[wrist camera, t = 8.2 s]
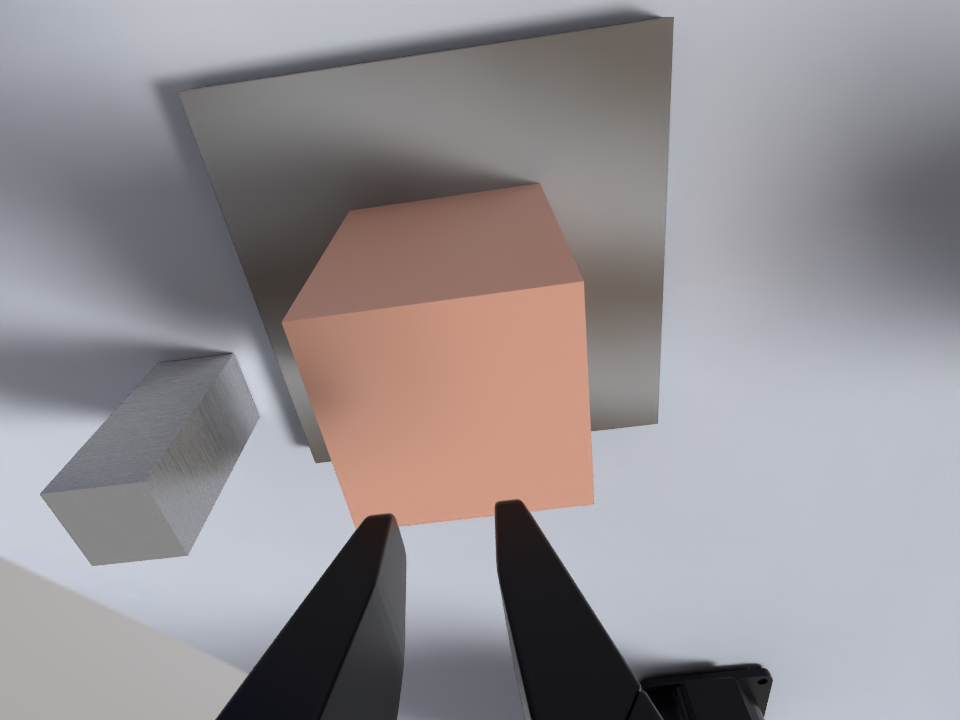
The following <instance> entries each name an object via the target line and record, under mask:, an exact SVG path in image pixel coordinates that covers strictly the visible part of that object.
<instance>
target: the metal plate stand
mask: <svg viewBox="0 0 960 720" xmlns="http://www.w3.org/2000/svg"><path fill="white" fill-rule="evenodd" d="M673 22H674V17H662V18H655V19H649V20H642V21H635V22H629V23H622V24H616V25H609V26H602V27H596V28H589V29H583V30H576V31H569V32H563V33H556V34H550V35H543V36H536V37H530V38H523V39H517V40H510V41H504V42H497V43H490V44H484V45H477V46H471V47H464V48H457V49H451V50H444V51H438V52H431V53H424V54H418V55H411V56H405V57H398V58H392V59H385V60H378V61H372V62H365V63H359V64H352V65H345V66H339V67H332V68H326V69H319V70H312V71H306V72H299V73H293V74H286V75H279V76H273V77H266V78H260V79H253V80H247V81H240V82H233V83H227V84H220V85H214V86H207V87H200V88H194V89H189V90H185V91H181V92H178V95H179V97H180V100H181V103H182V106H183V108H184V111H185V114H186V116H187V119H188V122H189V124H190V127H191V130H192V132H193V135H194V138H195V141H196V143H197V146H198V149H199V151H200V154H201V157H202V159H203V162H204V165H205V167H206V170H207V173H208V175H209V178H210V181H211V184H212V186H213V189H214V192H215V194H216V197H217V200H218V202H219V205H220V208H221V210H222V213H223V216H224V218H225V221H226V224H227V227H228V229H229V232H230V235H231V237H232V240H233V243H234V245H235V248H236V251H237V253H238V256H239V259H240V262H241V264H242V267H243V270H244V272H245V275H246V278H247V280H248V283H249V286H250V288H251V291H252V294H253V296H254V299H255V302H256V305H257V307H258V310H259V313H260V315H261V318H262V321H263V323H264V326H265V329H266V331H267V334H268V337H269V339H270V342H271V345H272V348H273V350H274V353H275V356H276V358H277V361H278V364H279V366H280V369H281V372H282V374H283V377H284V380H285V383H286V385H287V388H288V391H289V393H290V396H291V399H292V401H293V404H294V407H295V409H296V412H297V415H298V417H299V420H300V423H301V426H302V428H303V431H304V434H305V436H306V439H307V442H308V444H309V447H310V450H311V452H312V455H313V458H314V461H315V463H321V462H330V461H331V458H330V455H329V453H328V450H327V447H326V444H325V441H324V439H323V436H322V433H321V430H320V428H319V425H318V422H317V419H316V416H315V414H314V411H313V408H312V405H311V403H310V400H309V397H308V394H307V392H306V389H305V386H304V383H303V380H302V378H301V375H300V372H299V369H298V367H297V364H296V361H295V358H294V355H293V353H292V350H291V347H290V344H289V342H288V339H287V336H286V333H285V330H284V328H283V325H282V321H283V319H284V317H285V316H286V314H287V312H288V311H289V309H290V308H291V306H292V304H293V303H294V301H295V299H296V298H297V296H298V294H299V293H300V291H301V290H302V288H303V286H304V285H305V283H306V281H307V280H308V278H309V276H310V275H311V273H312V272H313V270H314V268H315V267H316V265H317V263H318V262H319V260H320V258H321V257H322V255H323V254H324V252H325V250H326V249H327V247H328V245H329V244H330V242H331V240H332V239H333V237H334V236H335V234H336V232H337V231H338V229H339V227H340V226H341V224H342V222H343V221H344V219H345V217H346V216H347V214H348V213H349V211H351V210H358V209H365V208H372V207H379V206H386V205H393V204H400V203H407V202H413V201H420V200H427V199H434V198H441V197H448V196H455V195H462V194H468V193H475V192H482V191H489V190H496V189H503V188H510V187H517V186H524V185H530V184H537V183H540V184H541V186H542V188H543V191H544V193H545V195H546V197H547V200H548V202H549V204H550V206H551V209H552V211H553V213H554V215H555V218H556V220H557V222H558V224H559V227H560V229H561V231H562V233H563V236H564V238H565V240H566V242H567V245H568V247H569V249H570V251H571V254H572V256H573V258H574V260H575V263H576V265H577V267H578V269H579V272H580V274H581V276H582V278H583V280H584V294H585V316H586V337H587V359H588V380H589V401H590V423H591V431H598V430H606V429H615V428H624V427H632V426H641V425H650V424H658V406H659V380H660V355H661V329H662V304H663V278H664V252H665V227H666V201H667V176H668V150H669V124H670V99H671V73H672V47H673Z"/></svg>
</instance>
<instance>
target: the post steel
mask: <svg viewBox="0 0 960 720" xmlns="http://www.w3.org/2000/svg"><path fill="white" fill-rule="evenodd" d="M259 418H260V416H259V414H258V411H257V409H256V406H255V404H254V401H253V399H252V397H251V394H250V392H249V389H248V387H247V385H246V382H245V380H244V377H243V375H242V373H241V370H240V368H239V365H238V363H237V361H236V358H235V356H234V354H227V355H219V356H211V357H203V358H195V359H187V360H179V361H172V362H164V363H157V364H156V365H155V366H154V367H153V369H152V370H151V371H150V372H149V373H148V374H147V375H146V376H145V377H144V379H143V380H142V381H141V382H140V383H139V384H138V385H137V386H136V388H135V389H134V390H133V391H132V392H131V393H130V394H129V395H128V396H127V398H126V399H125V400H124V401H123V402H122V403H121V404H120V405H119V406H118V408H117V409H116V410H115V411H114V412H113V413H112V414H111V415H110V416H109V418H108V419H107V420H106V421H105V422H104V423H103V424H102V425H101V426H100V428H99V429H98V430H97V431H96V432H95V433H94V434H93V435H92V436H91V438H90V439H89V440H88V441H87V442H86V443H85V444H84V445H83V446H82V448H81V449H80V450H79V451H78V452H77V453H76V454H75V455H74V457H73V458H72V459H71V460H70V461H69V462H68V463H67V464H66V465H65V467H64V468H63V469H62V470H61V471H60V472H59V473H58V474H57V475H56V477H55V478H54V479H53V480H52V481H51V482H50V483H49V484H48V485H47V487H46V488H45V489H44V490H43V491H42V492H41V493H40V495H41V497H42V498H43V499H44V501H45V502H46V503H47V505H48V506H49V508H50V509H51V510H52V512H53V513H54V514H55V516H56V517H57V519H58V520H59V521H60V523H61V524H62V525H63V527H64V528H65V529H66V531H67V532H68V534H69V535H70V536H71V538H72V539H73V540H74V542H75V543H76V544H77V546H78V547H79V549H80V550H81V551H82V553H83V554H84V555H85V557H86V558H87V560H88V561H89V562H90V564H91V565H92V566H96V565H106V564H115V563H124V562H133V561H143V560H152V559H161V558H170V557H179V556H188V554H189V552H190V550H191V548H192V546H193V544H194V543H195V541H196V539H197V537H198V535H199V533H200V531H201V529H202V527H203V525H204V523H205V521H206V519H207V518H208V516H209V514H210V512H211V510H212V508H213V506H214V504H215V502H216V500H217V498H218V496H219V494H220V493H221V491H222V489H223V487H224V485H225V483H226V481H227V479H228V477H229V475H230V473H231V471H232V469H233V468H234V466H235V464H236V462H237V460H238V458H239V456H240V454H241V452H242V450H243V448H244V446H245V444H246V443H247V441H248V439H249V437H250V435H251V433H252V431H253V429H254V427H255V425H256V423H257V421H258V419H259Z"/></svg>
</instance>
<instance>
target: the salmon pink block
mask: <svg viewBox="0 0 960 720" xmlns="http://www.w3.org/2000/svg"><path fill="white" fill-rule="evenodd" d="M282 325H283V328H284V330H285V333H286V336H287V339H288V342H289V344H290V347H291V350H292V353H293V355H294V358H295V361H296V364H297V367H298V369H299V372H300V375H301V378H302V380H303V383H304V386H305V389H306V392H307V394H308V397H309V400H310V403H311V405H312V408H313V411H314V414H315V416H316V419H317V422H318V425H319V428H320V430H321V433H322V436H323V439H324V441H325V444H326V447H327V450H328V453H329V455H330V458H331V461H332V464H333V466H334V469H335V472H336V475H337V478H338V480H339V483H340V486H341V489H342V491H343V494H344V497H345V500H346V502H347V505H348V508H349V511H350V514H351V516H352V519H353V522H354V525H355V527H356V529H357V528H358V527H359V525H360V524H361V523H362V521H363V520H364V519H365V518H366V517H367V516H369V515H377V514H386V513H391V514H393V515H394V516H395V518H396V520H397V524H398V526H407V525H416V524H425V523H433V522H442V521H451V520H460V519H468V518H477V517H486V516H495V503H496V502H497V501H504V500H513V499H520V500H521V501H522V502H523V503H524V504H525V506H526V507H527V509H528V510H529V512H530V511H539V510H547V509H556V508H565V507H574V506H583V505H591V504H594V487H593V465H592V444H591V423H590V401H589V380H588V359H587V337H586V316H585V294H584V280H583V278H582V276H581V274H580V272H579V269H578V267H577V265H576V263H575V260H574V258H573V256H572V254H571V251H570V249H569V247H568V245H567V242H566V240H565V238H564V236H563V233H562V231H561V229H560V227H559V224H558V222H557V220H556V218H555V215H554V213H553V211H552V209H551V206H550V204H549V202H548V200H547V197H546V195H545V193H544V191H543V188H542V186H541V184H540V183H537V184H530V185H524V186H517V187H510V188H503V189H496V190H489V191H482V192H475V193H468V194H462V195H455V196H448V197H441V198H434V199H427V200H420V201H413V202H407V203H400V204H393V205H386V206H379V207H372V208H365V209H358V210H351V211H349V213H348V214H347V216H346V217H345V219H344V221H343V222H342V224H341V226H340V227H339V229H338V231H337V232H336V234H335V236H334V237H333V239H332V240H331V242H330V244H329V245H328V247H327V249H326V250H325V252H324V254H323V255H322V257H321V258H320V260H319V262H318V263H317V265H316V267H315V268H314V270H313V272H312V273H311V275H310V276H309V278H308V280H307V281H306V283H305V285H304V286H303V288H302V290H301V291H300V293H299V294H298V296H297V298H296V299H295V301H294V303H293V304H292V306H291V308H290V309H289V311H288V312H287V314H286V316H285V317H284V319H283V321H282Z"/></svg>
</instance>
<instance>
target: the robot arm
mask: <svg viewBox="0 0 960 720" xmlns="http://www.w3.org/2000/svg"><path fill="white" fill-rule="evenodd" d="M495 538H496V563H497V573H498V578H499V584H500V590H501V596H502V601H503V607H504V613H505V619H506V624H507V630H508V636H509V642H510V647H511V653H512V659H513V664H514V670H515V674H516V679H517V684H518V689H519V694H520V698H521V703H522V708H523V713H524V718H525V720H765V719H764V715H765V711H766V706H767V702H768V698H769V694H770V690H771V686H772V682H773V679H772V677H771V675H770V672H769V671H768V670H767V669H765V668H756V669H746V670H735V671H724V672H713V673H703V674H692V675H681V676H670V677H660V678H649V679H645V680H643V681H641V682H640V683H639V682H638V680H637V678H636V677H635V675H634V674H633V672H632V671H631V669H630V668H629V666H628V664H627V663H626V661H625V660H624V658H623V657H622V655H621V654H620V652H619V650H618V649H617V647H616V646H615V644H614V643H613V641H612V640H611V638H610V636H609V635H608V633H607V632H606V630H605V629H604V627H603V625H602V624H601V622H600V621H599V619H598V618H597V616H596V615H595V613H594V611H593V610H592V608H591V607H590V605H589V604H588V602H587V601H586V599H585V597H584V596H583V594H582V593H581V591H580V590H579V588H578V587H577V585H576V583H575V582H574V580H573V579H572V577H571V576H570V574H569V573H568V571H567V569H566V568H565V566H564V565H563V563H562V562H561V560H560V559H559V557H558V555H557V554H556V552H555V551H554V549H553V548H552V546H551V545H550V543H549V541H548V540H547V538H546V537H545V535H544V534H543V532H542V531H541V529H540V527H539V526H538V524H537V523H536V521H535V520H534V518H533V516H532V515H531V513H530V512H529V510H528V509H527V507H526V506H525V504H524V503H523V502H522V501H521V500H520V499H513V500H504V501H497V502H496V503H495ZM405 606H406V553H405V548H404V544H403V541H402V538H401V534H400V531H399V527H398V524H397V520H396V518H395V516H394V515H393V514H391V513H386V514H377V515H369V516H367V517H366V518H365V519H364V520H363V521H362V523H361V524H360V525H359V527H358V528H357V529H356V531H355V532H354V533H353V535H352V536H351V538H350V539H349V540H348V542H347V543H346V544H345V546H344V547H343V548H342V550H341V551H340V552H339V554H338V555H337V556H336V558H335V559H334V560H333V562H332V563H331V564H330V566H329V567H328V569H327V570H326V571H325V573H324V574H323V575H322V577H321V578H320V579H319V581H318V582H317V583H316V585H315V586H314V587H313V589H312V590H311V591H310V593H309V594H308V595H307V597H306V598H305V599H304V601H303V602H302V604H301V605H300V606H299V608H298V609H297V610H296V612H295V613H294V614H293V616H292V617H291V618H290V620H289V621H288V622H287V624H286V625H285V626H284V628H283V629H282V630H281V632H280V633H279V635H278V636H277V637H276V639H275V640H274V641H273V643H272V644H271V645H270V647H269V648H268V649H267V651H266V652H265V653H264V655H263V656H262V657H261V659H260V660H259V661H258V663H257V664H256V666H255V667H254V668H253V670H252V671H251V672H250V674H249V675H248V676H247V678H246V679H245V680H244V682H243V683H242V684H241V686H240V687H239V688H238V690H237V691H236V693H235V694H234V695H233V697H232V698H231V699H230V701H229V702H228V703H227V705H226V706H225V707H224V709H223V710H222V711H221V713H220V714H219V715H218V717H217V718H216V719H215V720H397V715H398V708H399V700H400V692H401V685H402V677H403V667H404V649H405Z"/></svg>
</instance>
